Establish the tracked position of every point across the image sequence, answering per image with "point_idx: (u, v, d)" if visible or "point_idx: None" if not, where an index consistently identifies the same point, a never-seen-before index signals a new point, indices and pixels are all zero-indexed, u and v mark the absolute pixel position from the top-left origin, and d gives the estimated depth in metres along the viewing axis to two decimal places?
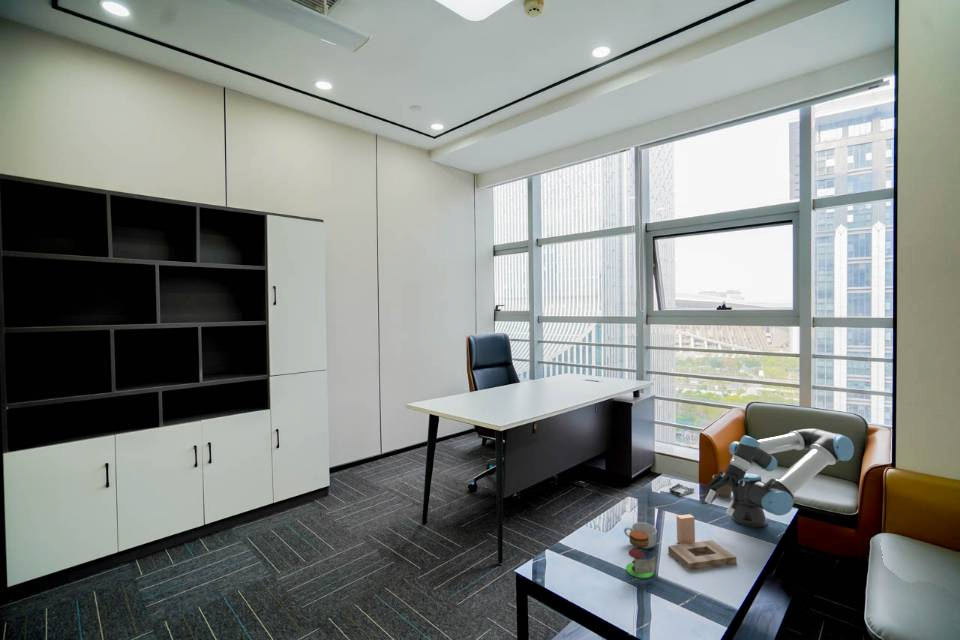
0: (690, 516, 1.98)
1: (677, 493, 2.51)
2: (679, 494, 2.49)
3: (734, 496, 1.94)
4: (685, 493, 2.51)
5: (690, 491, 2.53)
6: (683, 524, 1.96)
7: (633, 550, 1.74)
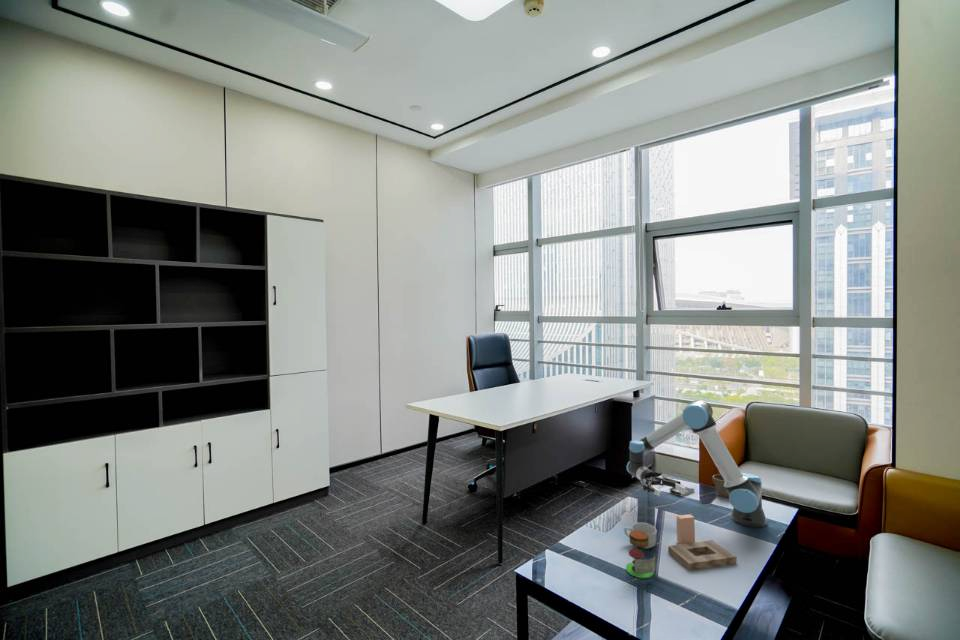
0: (690, 516, 1.98)
1: (677, 493, 2.50)
2: (679, 494, 2.49)
3: None
4: (685, 493, 2.51)
5: (690, 491, 2.53)
6: (683, 524, 1.96)
7: (633, 550, 1.74)
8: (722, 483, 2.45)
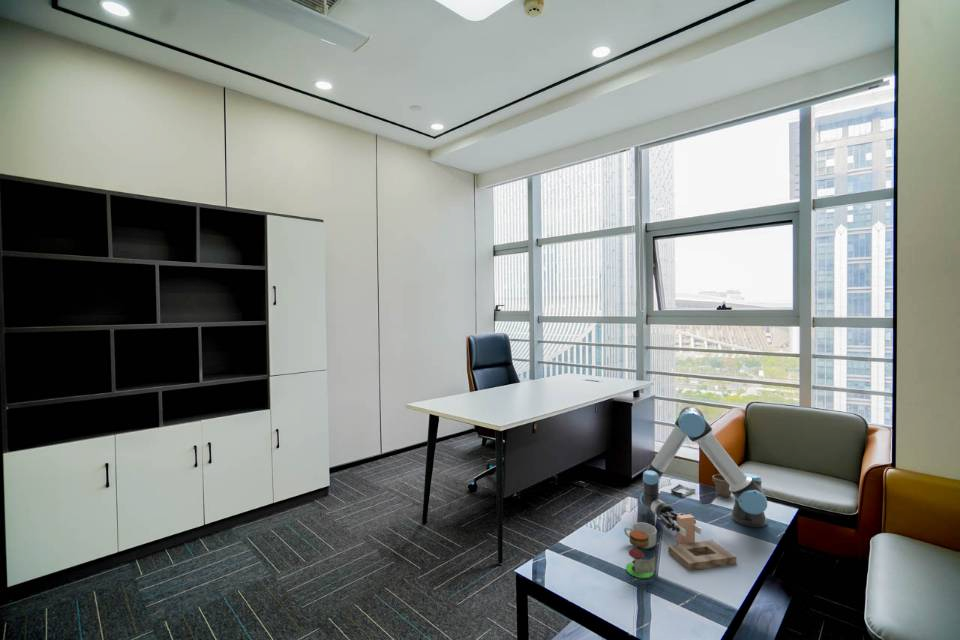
0: (690, 516, 1.98)
1: (679, 494, 2.49)
2: (681, 495, 2.48)
3: None
4: (687, 494, 2.50)
5: (692, 492, 2.52)
6: (683, 524, 1.96)
7: (633, 550, 1.74)
8: (722, 483, 2.45)
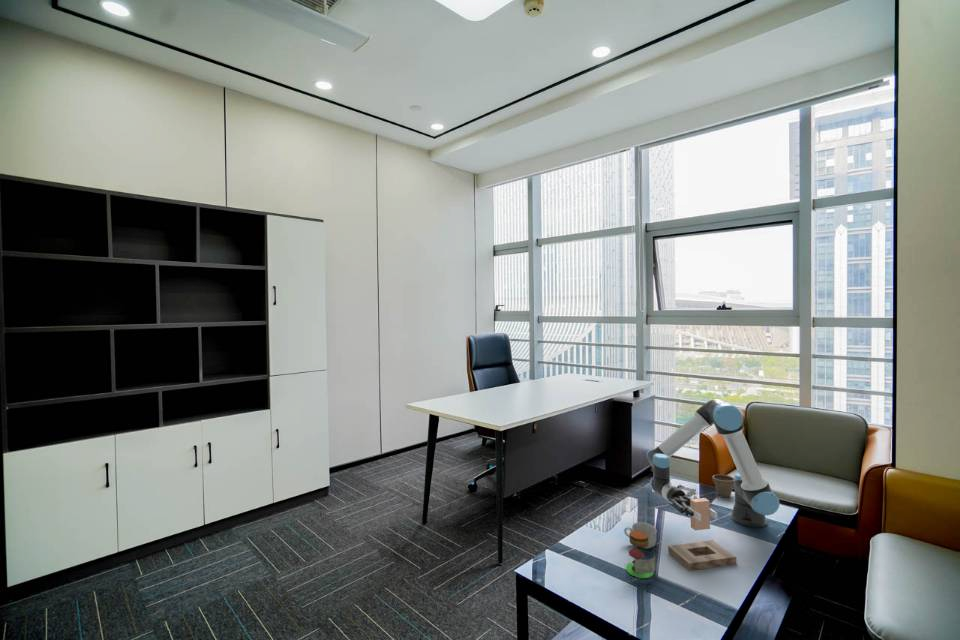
0: (705, 500, 1.85)
1: None
2: None
3: None
4: (688, 494, 2.49)
5: (692, 492, 2.52)
6: (697, 508, 1.83)
7: (633, 550, 1.74)
8: (722, 483, 2.45)
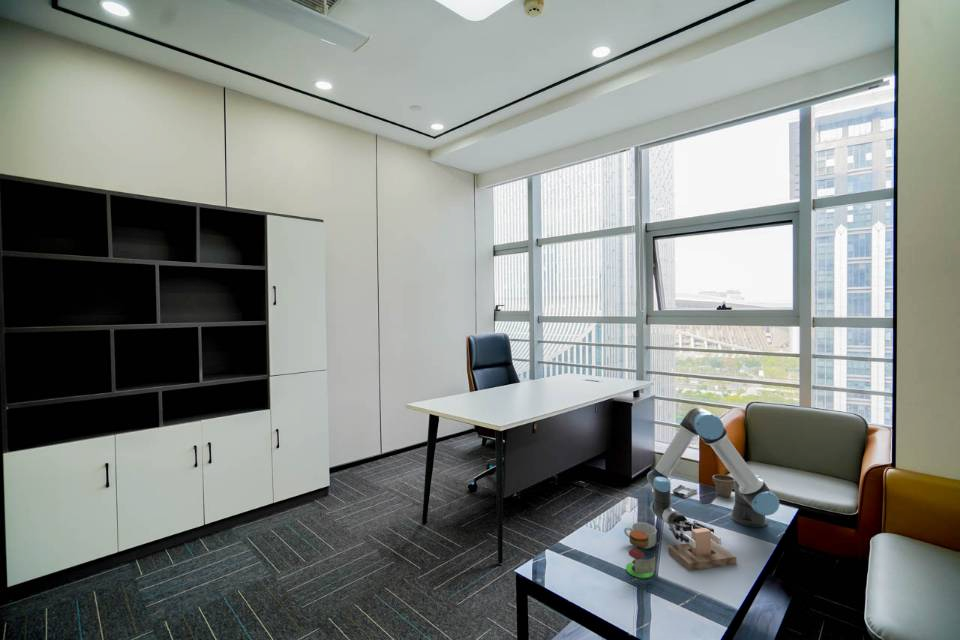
0: (706, 530, 1.85)
1: (681, 495, 2.48)
2: (683, 496, 2.47)
3: None
4: (689, 494, 2.49)
5: (693, 492, 2.52)
6: (698, 538, 1.83)
7: (633, 550, 1.74)
8: (722, 483, 2.45)
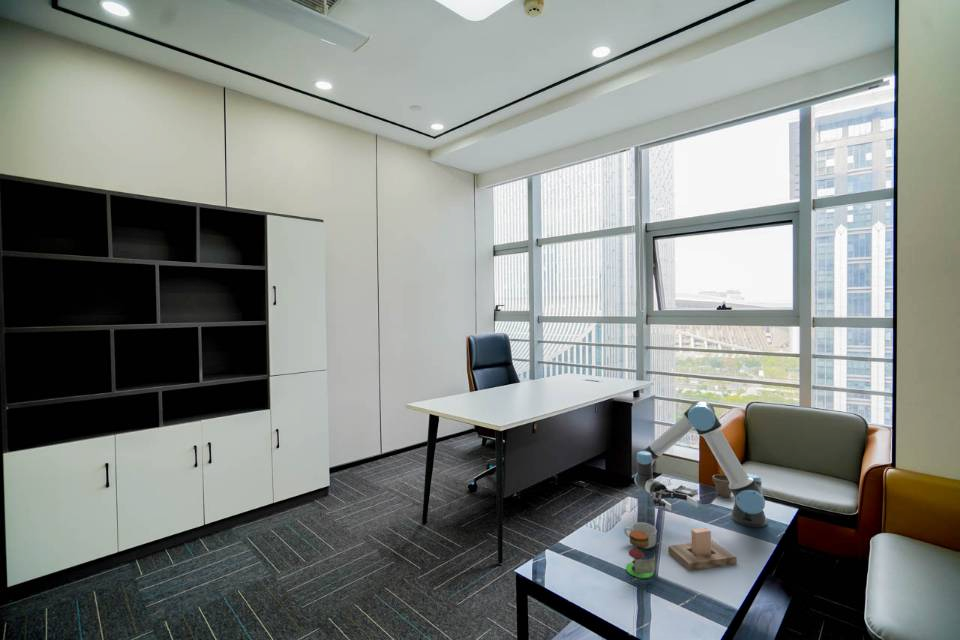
0: (706, 530, 1.85)
1: None
2: None
3: None
4: None
5: (694, 492, 2.51)
6: (698, 538, 1.83)
7: (633, 550, 1.74)
8: (722, 483, 2.45)
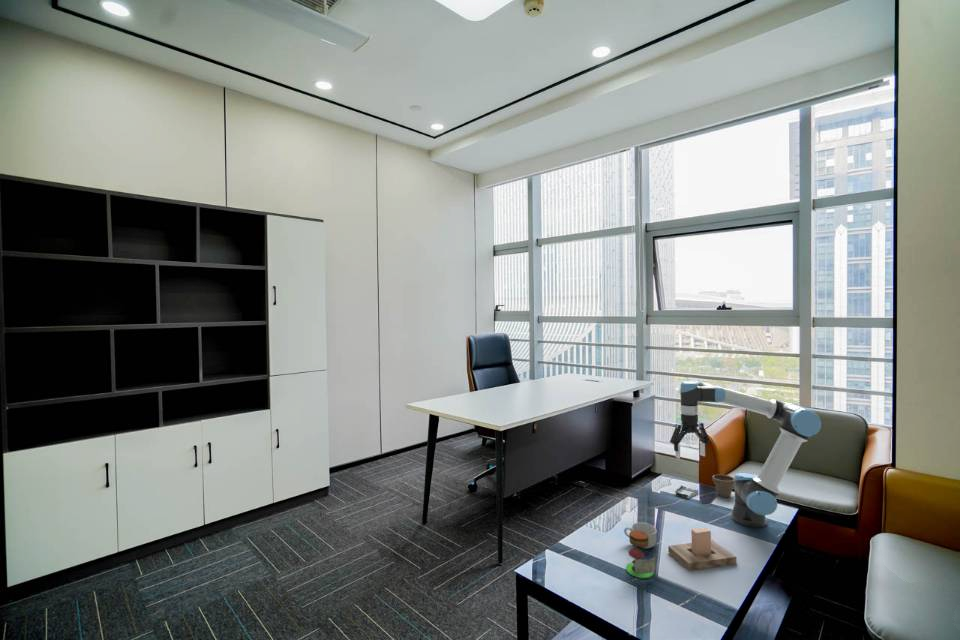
0: (706, 530, 1.85)
1: (684, 496, 2.47)
2: (686, 496, 2.46)
3: None
4: (691, 495, 2.48)
5: (695, 493, 2.51)
6: (698, 538, 1.83)
7: (633, 550, 1.74)
8: (722, 483, 2.45)
